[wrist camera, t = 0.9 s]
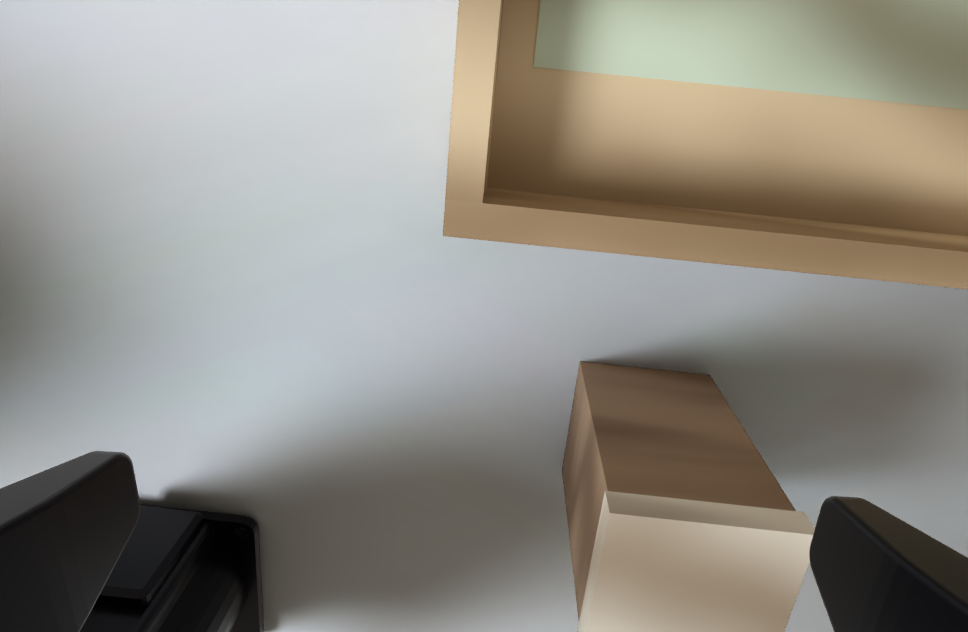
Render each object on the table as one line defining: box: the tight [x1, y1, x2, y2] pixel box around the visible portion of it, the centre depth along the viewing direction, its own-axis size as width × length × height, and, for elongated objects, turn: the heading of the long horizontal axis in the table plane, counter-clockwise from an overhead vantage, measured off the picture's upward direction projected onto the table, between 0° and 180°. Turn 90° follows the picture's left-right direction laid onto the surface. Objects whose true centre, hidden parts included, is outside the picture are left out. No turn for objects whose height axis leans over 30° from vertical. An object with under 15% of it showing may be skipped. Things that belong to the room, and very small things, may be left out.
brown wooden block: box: [562, 362, 815, 632], centre depth 19 cm, size 5×5×8 cm
